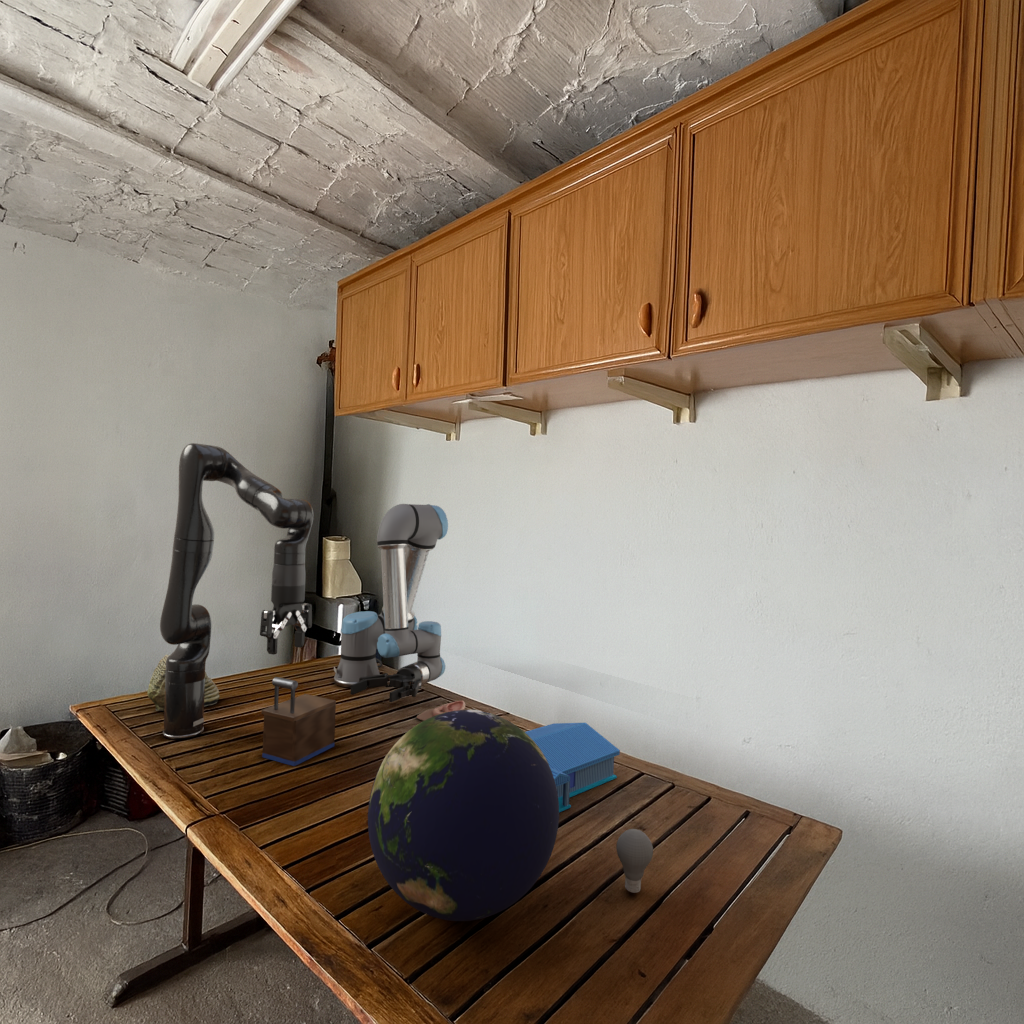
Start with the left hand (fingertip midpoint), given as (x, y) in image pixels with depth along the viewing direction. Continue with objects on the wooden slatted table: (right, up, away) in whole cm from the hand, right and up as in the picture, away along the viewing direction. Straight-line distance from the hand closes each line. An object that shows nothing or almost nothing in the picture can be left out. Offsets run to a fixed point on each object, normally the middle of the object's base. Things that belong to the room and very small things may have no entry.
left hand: (286, 650), depth 151 cm
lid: (+2, -16, +5) cm, 16 cm away
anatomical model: (+33, -27, +34) cm, 55 cm away
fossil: (-42, -24, +34) cm, 59 cm away
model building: (+58, -29, -8) cm, 65 cm away
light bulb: (+74, -30, -45) cm, 92 cm away
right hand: (+13, -19, +31) cm, 39 cm away
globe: (+46, -29, -50) cm, 74 cm away
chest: (+1, -26, +6) cm, 27 cm away
